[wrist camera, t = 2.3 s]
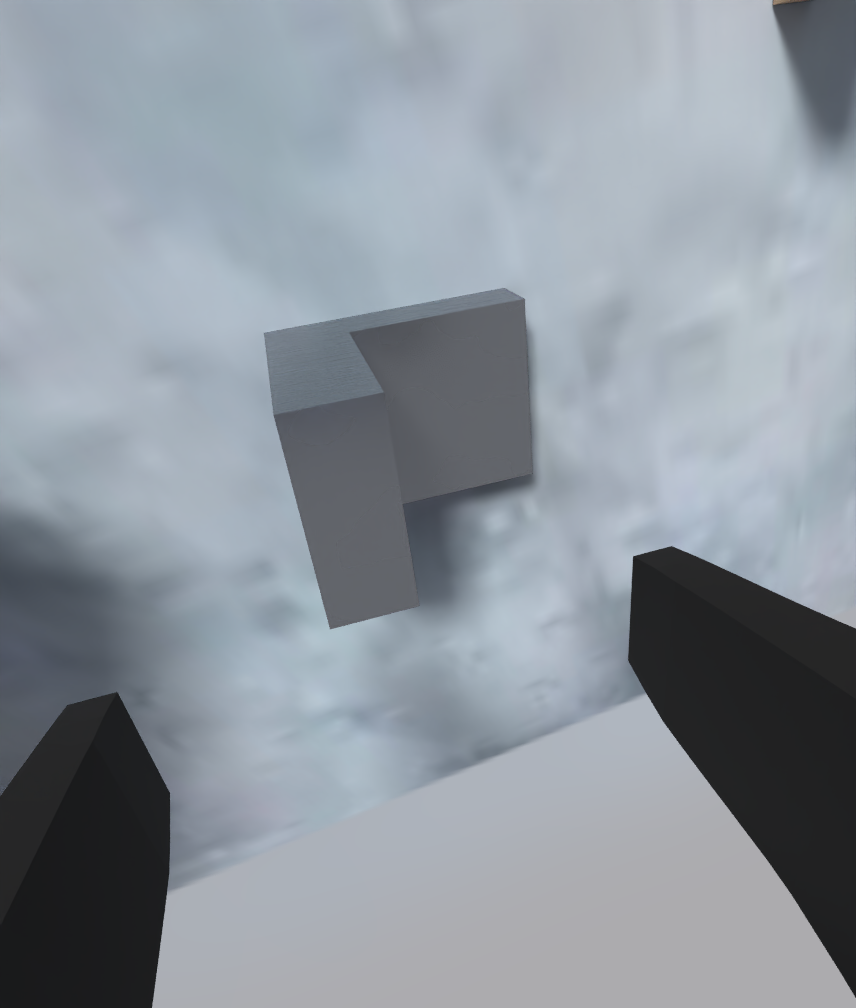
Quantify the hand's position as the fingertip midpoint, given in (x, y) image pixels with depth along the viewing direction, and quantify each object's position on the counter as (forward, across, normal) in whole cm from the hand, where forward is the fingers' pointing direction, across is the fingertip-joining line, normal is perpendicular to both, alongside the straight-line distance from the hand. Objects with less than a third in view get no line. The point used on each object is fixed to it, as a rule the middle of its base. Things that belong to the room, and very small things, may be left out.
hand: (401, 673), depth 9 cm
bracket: (+10, -2, 0) cm, 11 cm away
